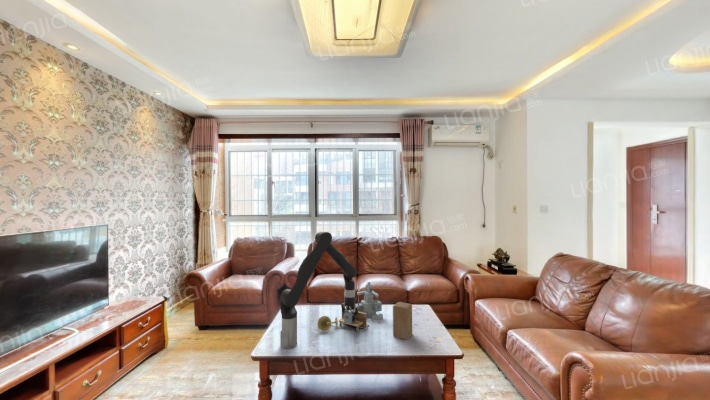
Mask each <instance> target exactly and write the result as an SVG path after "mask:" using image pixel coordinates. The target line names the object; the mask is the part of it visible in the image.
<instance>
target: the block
mask: <svg viewBox="0 0 710 400" xmlns="http://www.w3.org/2000/svg"><path fill="white" fill-rule="evenodd" d="M392 333H393V334H392V335H393V337H394V338H398V339H401V340H402V339H403V340H408V339H409V338H410V337H411V336H412V335H413V305H412V303H408V302H403V301H402V302H401V301H398V302H396V303H395V304H394V305H393V306H392Z"/></svg>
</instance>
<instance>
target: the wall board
mask: <svg viewBox="0 0 710 400" xmlns="http://www.w3.org/2000/svg"><path fill="white" fill-rule="evenodd" d="M348 311H349V310H348ZM352 311H353V310H352ZM367 319H368V318H367V313H363V312H359V311H358V314H357V315H356V320H355V321H353V322H352V323H347V322H344V313H343V312H342V311H341V319H338V323H339V327H342V325H343V324H345V325H349V326H353V327H356V331H357V332H359V328H360V329H367V328H368V327H370V324H367V323H368V322H367Z"/></svg>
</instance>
